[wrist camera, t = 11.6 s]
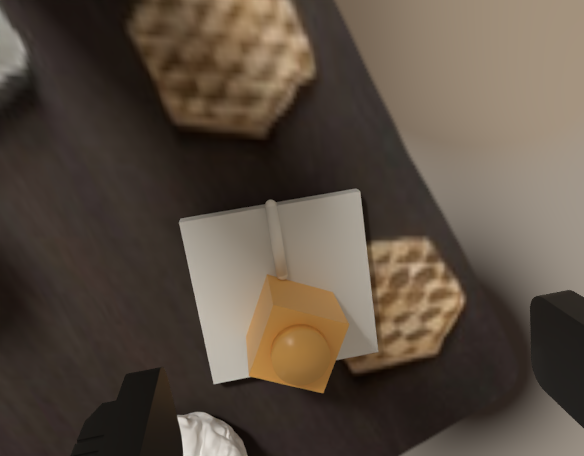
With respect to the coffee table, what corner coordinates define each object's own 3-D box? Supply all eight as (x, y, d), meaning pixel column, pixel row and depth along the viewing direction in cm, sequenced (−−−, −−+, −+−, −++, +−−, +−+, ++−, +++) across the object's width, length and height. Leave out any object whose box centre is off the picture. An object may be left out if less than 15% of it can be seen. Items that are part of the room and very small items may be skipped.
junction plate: (178, 210, 40) (171, 229, 35) (355, 180, 41) (374, 194, 36) (214, 376, 44) (212, 416, 39) (374, 345, 45) (394, 380, 40)
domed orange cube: (266, 274, 41) (274, 311, 34) (332, 292, 42) (353, 332, 35) (245, 336, 42) (249, 385, 35) (310, 352, 43) (326, 403, 36)
